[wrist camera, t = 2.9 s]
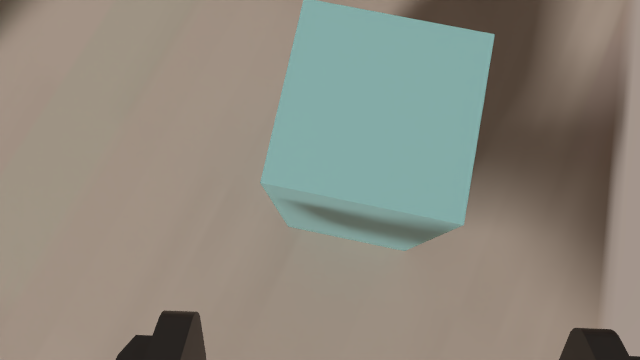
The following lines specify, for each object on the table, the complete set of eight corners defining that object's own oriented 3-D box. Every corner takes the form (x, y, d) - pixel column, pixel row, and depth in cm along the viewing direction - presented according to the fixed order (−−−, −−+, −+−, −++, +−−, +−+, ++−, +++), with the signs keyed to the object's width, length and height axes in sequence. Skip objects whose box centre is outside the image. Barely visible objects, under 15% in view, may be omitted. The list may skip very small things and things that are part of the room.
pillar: (288, 226, 23) (260, 182, 13) (312, 115, 24) (303, -2, 14) (404, 251, 23) (463, 225, 13) (425, 138, 24) (495, 34, 14)
